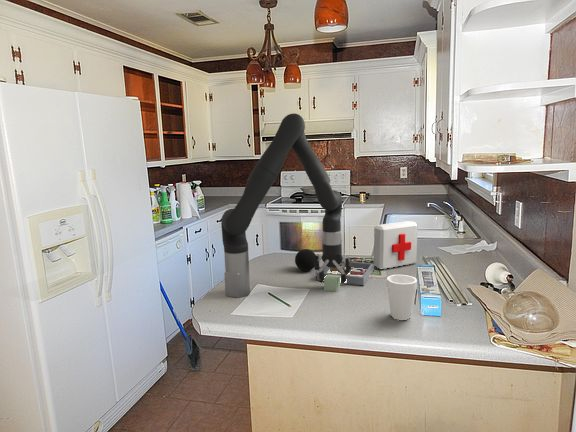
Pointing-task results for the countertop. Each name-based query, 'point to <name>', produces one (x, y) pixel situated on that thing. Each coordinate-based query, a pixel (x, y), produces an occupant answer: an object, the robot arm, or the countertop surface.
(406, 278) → the foam cup
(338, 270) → the walnut block
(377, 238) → the bevelled white case
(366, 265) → the tray
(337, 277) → the sage green block
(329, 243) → the robot arm
